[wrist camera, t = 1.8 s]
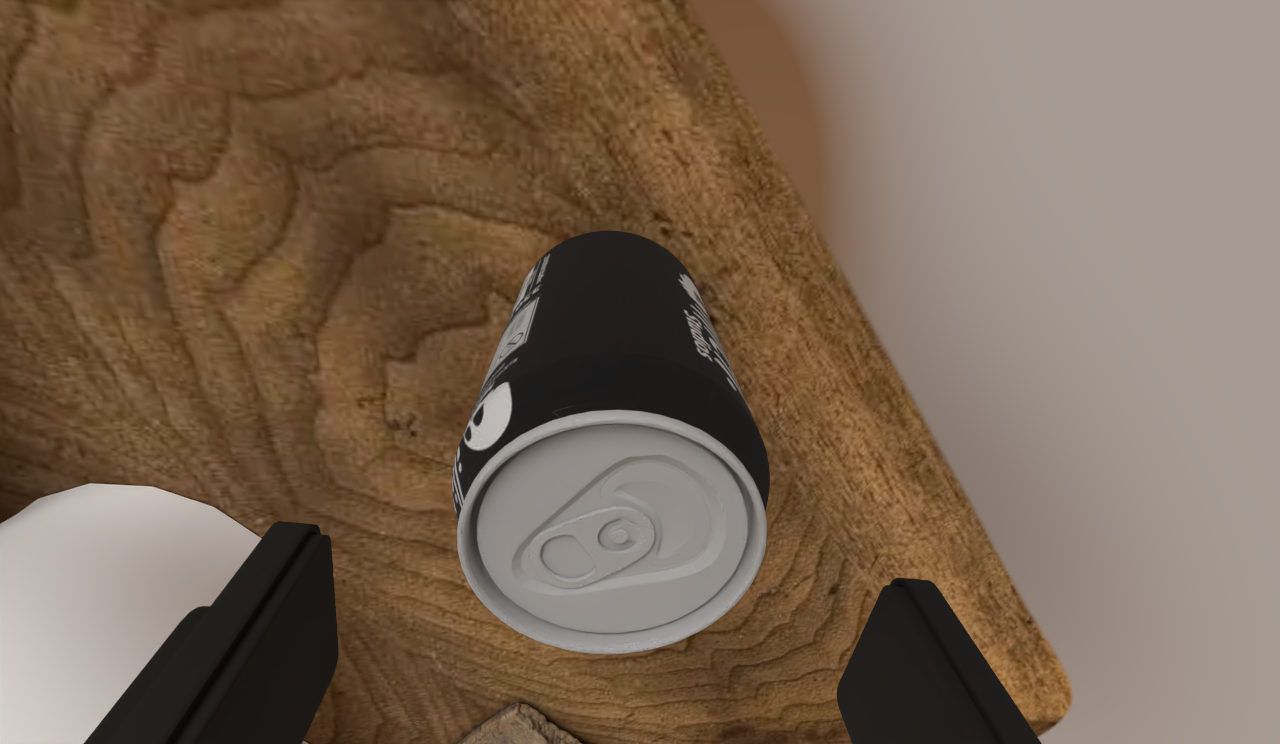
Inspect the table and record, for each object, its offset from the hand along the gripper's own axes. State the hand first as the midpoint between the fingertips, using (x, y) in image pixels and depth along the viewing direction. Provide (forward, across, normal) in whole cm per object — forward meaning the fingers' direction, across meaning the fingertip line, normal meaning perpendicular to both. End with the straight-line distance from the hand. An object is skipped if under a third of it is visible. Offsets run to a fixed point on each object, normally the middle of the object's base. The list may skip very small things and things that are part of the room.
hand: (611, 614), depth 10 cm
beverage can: (+13, 0, -1) cm, 13 cm away
